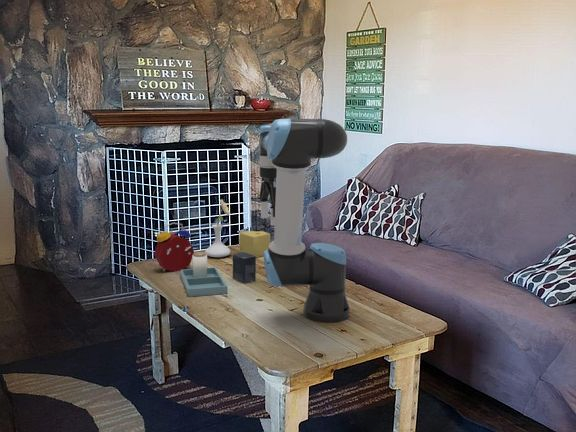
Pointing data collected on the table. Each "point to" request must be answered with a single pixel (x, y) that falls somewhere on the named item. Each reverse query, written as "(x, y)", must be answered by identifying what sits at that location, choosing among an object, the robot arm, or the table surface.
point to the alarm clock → (173, 250)
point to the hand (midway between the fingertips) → (269, 221)
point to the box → (244, 267)
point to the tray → (204, 283)
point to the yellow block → (254, 242)
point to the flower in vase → (218, 247)
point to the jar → (199, 264)
